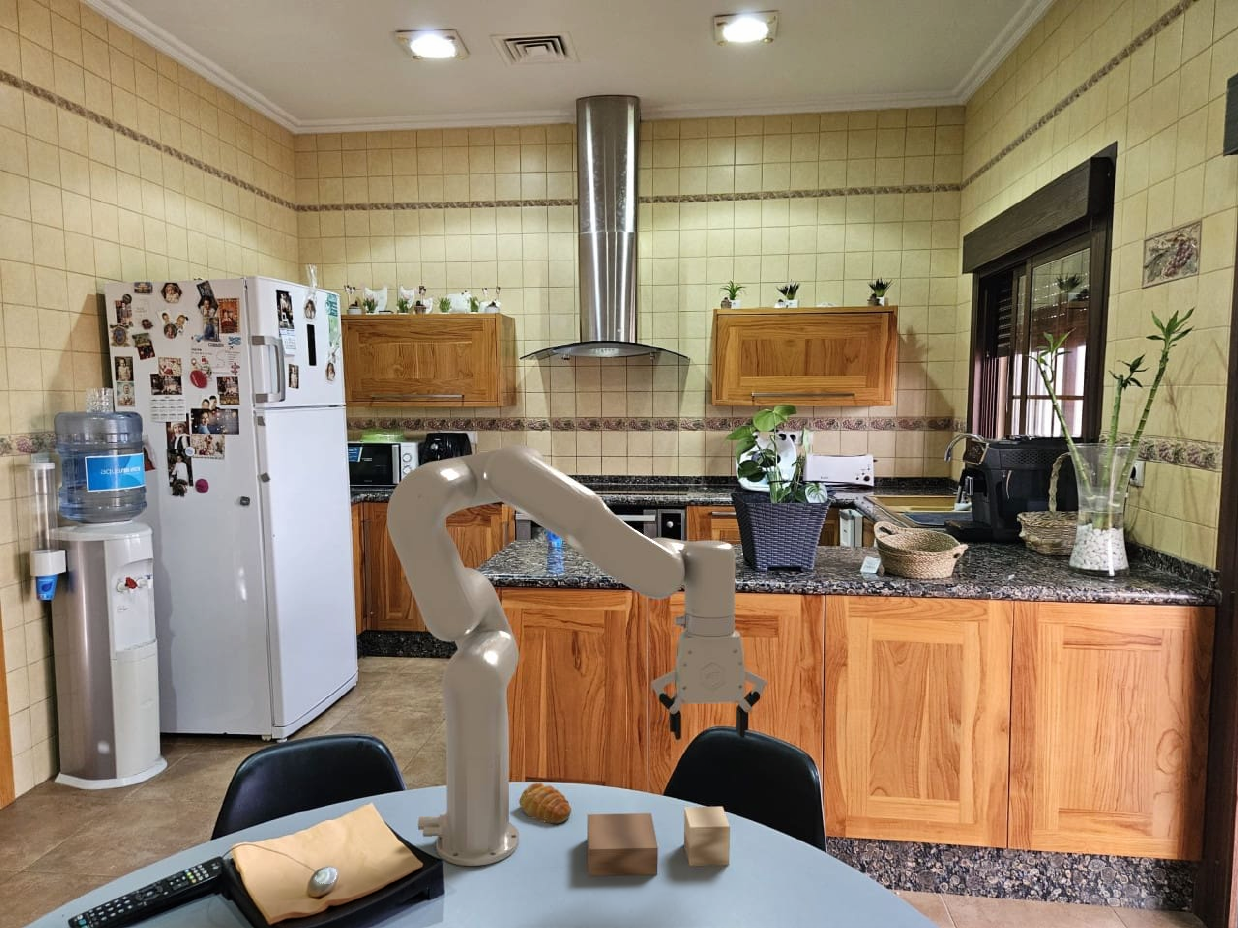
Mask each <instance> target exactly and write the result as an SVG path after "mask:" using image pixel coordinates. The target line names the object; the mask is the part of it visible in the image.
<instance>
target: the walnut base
mask: <svg viewBox="0 0 1238 928" xmlns="http://www.w3.org/2000/svg"><path fill="white" fill-rule="evenodd" d="M654 827H655V826H654V822H653V817H652V813H651V812H635V813H593V814H592V813H589V814H588V813H587V860H588V861H587V862H588V863H587V865H588V876H589V877H593V876H595V877H599V876H600V877H601V876H634V875H635V876H637V875H639V876H640V875H644V876H645V875H658V861H659V860H658V858H659V857H658V855H659V847H658V842H657V838H656V833H655V828H654Z"/></svg>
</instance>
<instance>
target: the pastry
mask: <svg viewBox="0 0 1238 928" xmlns="http://www.w3.org/2000/svg"><path fill="white" fill-rule="evenodd" d="M521 793H522V794H521V796H520V798H519V800H518V801H519V806H520V808H521V810H522V811H523V813H525V814H527V816H528V817H531V818H532V817H533V818H532V819H535V820H538V821H540V820H542V821H541V822H543V821H545V822H544V823H547V824H561V823H563V822H564V821H567V820H568V819H569V818H570V815H571V813H572V808H571V806H570V803H569V800H568V799H566V797H565V795H564V794H562V793H561V792H560V791H559V790H558V789H557V788H554V786H552V785H544V784H543V783H542V782H534V783H532V784H530V785H528V786H527V788H526V789H524V791H523V792H521Z"/></svg>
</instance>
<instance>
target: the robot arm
mask: <svg viewBox="0 0 1238 928" xmlns="http://www.w3.org/2000/svg"><path fill="white" fill-rule="evenodd" d="M500 502H502V503H503V504H505V505H506V506H508V507H509V508H511V509H513V510H514V511H516V512H518V513H520V514H521V515H523V516H524V517H526V518H527V519H529V520H531V521H533V522H534V523H536V524H537V525H539V526H541V527H542V528H544V529H545V530H547V531H548V532H550V533H552V534H553V535H555V536H556V537H558V538H560V539H561V540H562V541H564V542H565V543H567V544H568V546H570V547H571V548H572V549H573V550H575V552H577V553H579V554H580V555H581V556H583V557H584V558H585V559H587V560H588V561H589V562H590V563H592V564H593V565H594V566H595V567H597V568H598V569H600V570H601V571H603V572H604V573H605V574H607V575H609V576H610V577H611V578H613V579H615V580H616V581H618V582H620V583H621V584H623V585H624V586H626V587H628V588H629V589H631V590H632V591H635V592H636V593H638V594H640V595H642V596H643V597H645V598H649V599H654V600H665V599H667V598H670V597H672V596H674V595H675V594H676V593H677V592H678V591H679V590H680V589H681V587H682V586H683V587H684V610H683V613H682V614H681V615H680V616H675V617H674V626H675V627H680V628H681V627H682V628H683V630H681V631H680V633H679V636H678V637H679V638H678V641H677V648H676V649H677V650H676V658H675V668H674V669H672V670H671V671H668V672H666V673H665V674H662V675H661V676H660V677H658V678H656V679H653V680H652V681H651V686H652V689H653V691H654V693H655V695H656V696H657V698H658V701H659V702H660V703H661V704H662V705H663V706H664V707H665V708H666V709H667V710H668V711H669V731H670V733H673V734H674V738H675V740H678V741H679V740H681V739H682V715H681V711H680V709H681V708H682V707H683V706H684V704H728V703H729V704H730V703H733V704H734V703H737V705H736V707H735V732H736V734H737V735H738V737H739V738H740V739H745V737H746V732H745V731H749V712H751V710H752V708H753V706H754V705H756V703H757V702H759V700H761V696H762V695H763V693H764V692H765V688H766V687H767V685H768V684H767V680H766V679H765V678H763V677H762V676H759V675H757V674H755V673H753V672H751V671H750V670H748V669H745V658H744V648H743V641H742V638H741V634H740V633H739V632H738V631H737V630H736V629H735V628H736V622H735V621H736V550H735V548H734V546H733V545H732V544H731V543H729V542H726V541H721V540H696V541H687V540H679V539H673V538H668V537H653V538H649V537H647V536H645V535H644V534H642V533H641V532H639V531H638V530H636V529H634V528H633V527H632V526H630V525H629V524H627V523H626V522H625V521H623V520H622V519H621V518H619V517H618V516H617V515H616V514H615V513H614V512H613V511H612V510H611V509H610V508H609V507H608V506H607V504H606V503H605V501H604V500H603V499H602V498H601V497H600V496H599V495H598V494H597V493H595V492H594V491H593V490H592V489H590V488H589V487H586V486H585V485H583V484H582V483H580V482H578V481H577V480H575V479H573V478H572V477H570V476H568V475H567V474H565V473H563V472H562V471H560V470H559V469H557V468H555V467H554V466H552V465H551V464H549V463H548V462H546V460H545V459H544V457H543V456H542V454H541V453H540V452H539V451H538V450H537V449H536V448H534V447H531V446H529V445H526V444H512V445H508V446H505V447H502V448H498V449H494V450H490V451H484V452H479V453H474V454H473V453H472V454H469V455H468V454H467V455H463V456H456V457H451V458H446V459H442V460H435V461H429V462H426V463H424V464H422V465H419V466H417V467H416V468H414V469H412V470H411V471H410V472H408V473H407V474H406V475H405V476H404V477H403V478H402V479H401V480H400V482H399V483H398V484H397V485H396V487H395V488H394V490H393V491H392V493H391V496H390V497H389V500H388V504H387V509H386V525H387V531H388V535H389V537H390V540H391V543H392V546H393V548H394V550H395V553H396V555H397V558H398V559H399V562H400V564H401V567H402V569H403V572H404V574H405V577H406V582H407V583H408V585H409V587H410V591H411V593H412V596H413V598H414V600H415V603H416V606H417V608H418V611H419V612H420V616H421V618H422V620H423V624H424V626H425V627H426V629H427V631H428V632H429V633H430V634H431V635H432V636H433V637H434V638H436V639H438V640H440V641H444V642H454V643H455V645H456V647H457V650H456V651H455V652H454V653H453V654H452V656H451V657H450V658H449V661H448V662H447V664H446V666H445V669H444V672H443V676H442V681H441V692H442V701H443V709H444V716H445V717H444V718H445V719H444V721H445V753H446V754H445V757H446V758H445V761H446V764H445V767H446V772H445V773H446V775H445V777H446V779H445V780H446V787H445V788H446V789H445V791H446V793H445V794H446V811H445V814H444V813H443V814H439V816H419V817H418V821H417V829H418V831H422V837H423V838H427V837H428V838H429V837H430V838H431V837H437V838H436V840H435V841H436V843H435V844H436V846H435V848H436V852H437V853H438V855H439V857H440V858H441V859H443V860H444V861H447V862H448V863H451V864H453V865H457V866H461V867H462V866H463V867H479V866H486V865H491V864H494V863H497V862H500V861H502V860H504V859H506V858H507V857H509V856H511V855H512V854H513V853H514V851H515V850H517V848H518V846H519V842H520V838H519V837H520V833H519V831H518V829H517V827H516V826H515V825H514V824H512V823H511V822H510V744H509V743H510V741H509V739H510V727H509V726H510V725H509V724H510V723H509V713H508V712H509V711H508V701H507V699H508V698H507V697H508V696H507V693H508V686H509V684H510V682H511V681H512V678H513V676H514V674H515V673H516V671H517V667H518V665H519V658H520V654H519V653H520V651H519V647H518V644H517V641H516V638H515V635H514V633H513V630H512V628H511V626H510V622H509V620H508V618H507V616H506V613H505V611H504V608H503V606H502V604H501V603H502V602H501V601H500V599H499V596H498V592H496V589H495V587H494V586H493V584H492V582H491V581H490V579H488V577H487V576H485V575H484V573H482V572H480V571H479V570H477V569H474V568H471V567H465V565H464V563H463V561H462V558H461V556H460V552H459V550H458V548H457V545H456V543H455V541H454V539H453V538H452V536H451V535H450V533H449V531H448V529H447V527H446V520H447V518H448V517H449V516H450V515H452V514H455V513H457V512H459V511H462V510H465V509H468V508H474V507H479V506H485V505H490V504H495V503H500ZM746 682H749V683H750V684H752V685H753V687H752V689H751V690H750V691H749V692H748V693H747V694H746ZM673 683H674V688H675V692H674V694H673V695H672V696H671V697H670V696H669V695H668V694H667V693H666V692H665V689H664V688H665V687H667V686H668V685H670V684H673Z"/></svg>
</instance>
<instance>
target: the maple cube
mask: <svg viewBox="0 0 1238 928" xmlns="http://www.w3.org/2000/svg"><path fill="white" fill-rule="evenodd" d="M683 808H684V809H683V811H684V814H683V815H684V816H683V846H684V851H685V854H686V858H687V861H688V865H689V867H694V866H695V867H696V866H697V867H699V866H704V867H705V866H730V856H731V855H730V850H731V848H730V847H731V845H730V844H731V825H730V822H729V819H728V818H727V815H726V812H725V809H724V807H723V806H687V807H686V806H685V807H683Z"/></svg>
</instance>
